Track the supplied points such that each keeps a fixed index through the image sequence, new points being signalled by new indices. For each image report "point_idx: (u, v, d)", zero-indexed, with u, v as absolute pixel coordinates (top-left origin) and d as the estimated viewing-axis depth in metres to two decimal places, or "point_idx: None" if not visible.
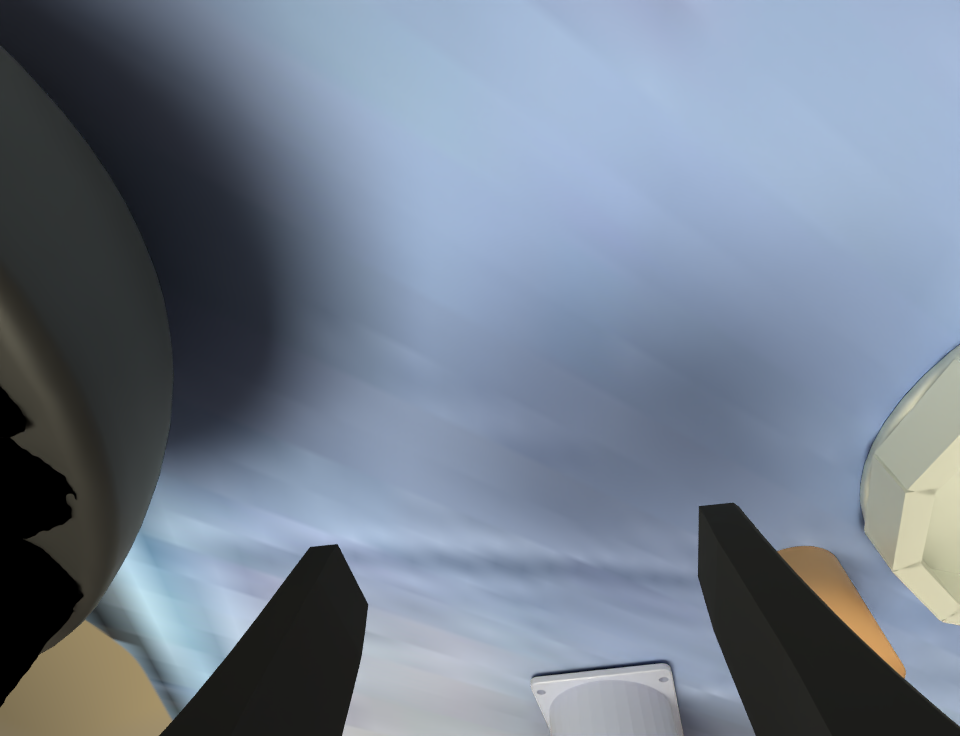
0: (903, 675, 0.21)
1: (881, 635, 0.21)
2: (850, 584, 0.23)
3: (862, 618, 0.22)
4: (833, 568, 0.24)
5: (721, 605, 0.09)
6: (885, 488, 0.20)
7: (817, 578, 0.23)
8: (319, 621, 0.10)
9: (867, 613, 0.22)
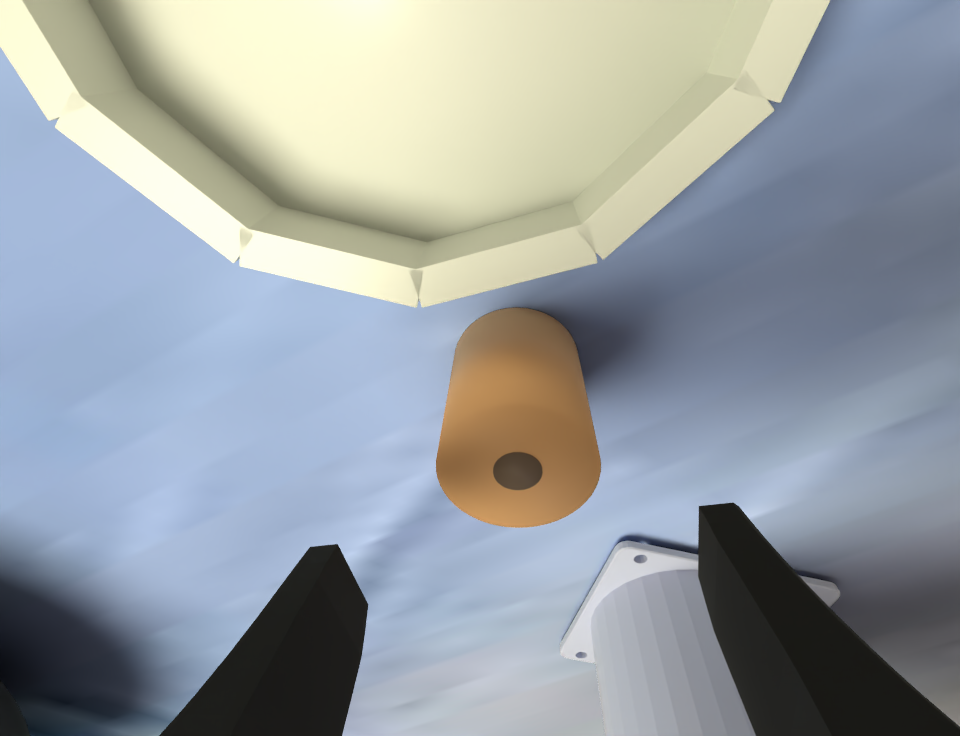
0: (539, 409, 0.12)
1: (483, 386, 0.13)
2: (488, 339, 0.15)
3: (466, 385, 0.14)
4: (472, 338, 0.16)
5: (721, 605, 0.09)
6: None
7: (452, 373, 0.16)
8: (319, 621, 0.10)
9: (484, 366, 0.14)
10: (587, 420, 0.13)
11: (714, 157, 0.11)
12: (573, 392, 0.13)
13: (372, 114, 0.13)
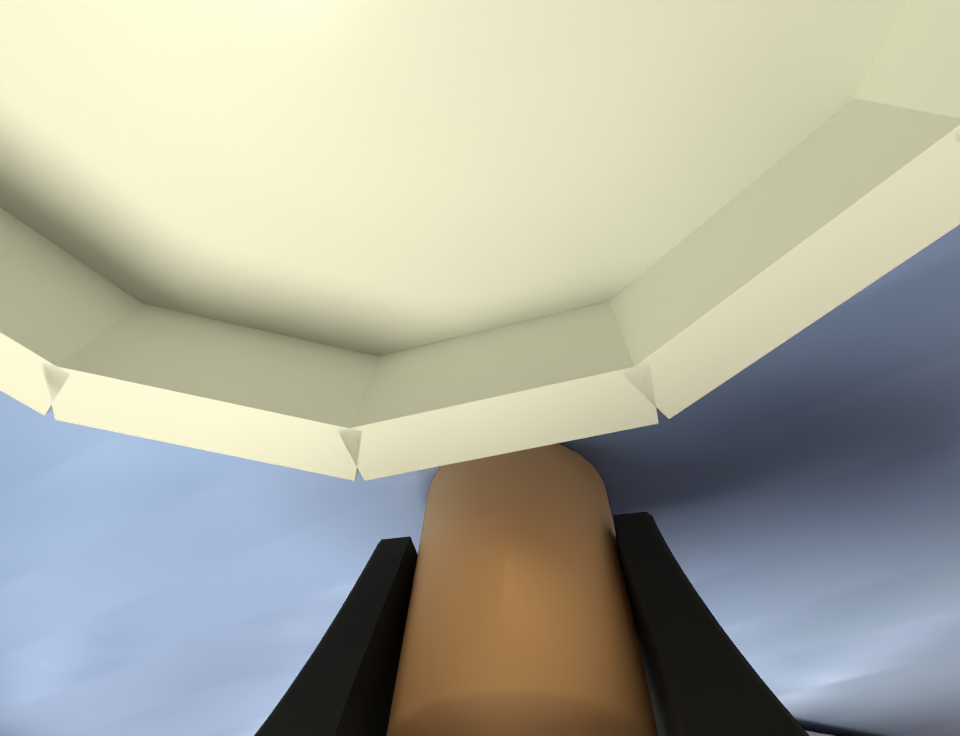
0: (560, 698, 0.07)
1: (464, 626, 0.08)
2: (475, 503, 0.10)
3: (436, 604, 0.08)
4: (452, 490, 0.10)
5: None
6: None
7: (420, 545, 0.10)
8: (399, 614, 0.09)
9: (466, 570, 0.08)
10: (639, 684, 0.08)
11: (892, 261, 0.06)
12: (614, 626, 0.08)
13: (276, 165, 0.08)
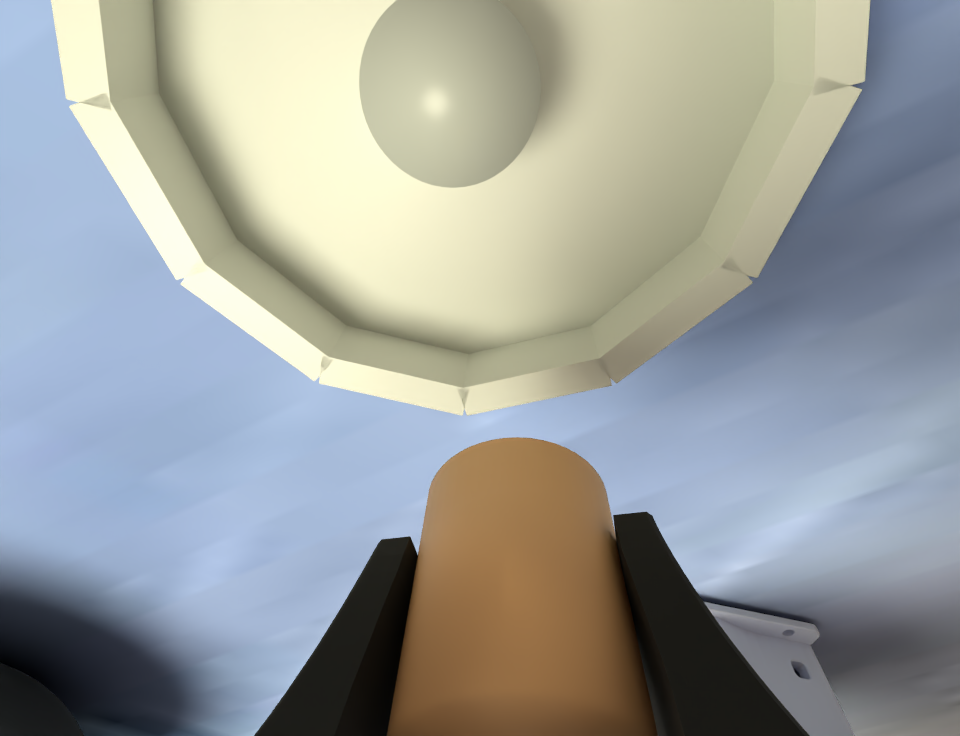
0: (560, 700, 0.07)
1: (464, 627, 0.08)
2: (475, 504, 0.10)
3: (436, 606, 0.08)
4: (452, 492, 0.10)
5: None
6: None
7: (420, 546, 0.10)
8: (399, 614, 0.09)
9: (466, 572, 0.08)
10: (639, 686, 0.08)
11: (706, 313, 0.14)
12: (613, 628, 0.08)
13: (428, 261, 0.16)
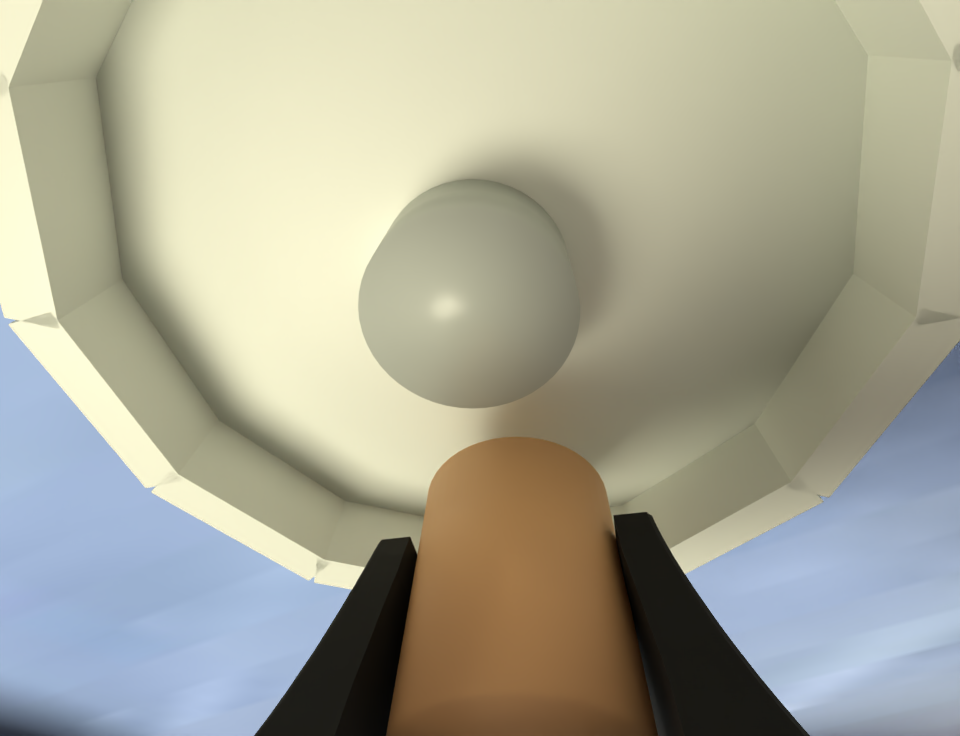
0: (560, 700, 0.07)
1: (463, 627, 0.08)
2: (475, 503, 0.10)
3: (436, 605, 0.08)
4: (452, 491, 0.10)
5: None
6: None
7: (420, 545, 0.10)
8: (399, 614, 0.09)
9: (466, 571, 0.08)
10: (639, 685, 0.08)
11: (765, 528, 0.12)
12: (613, 627, 0.08)
13: (439, 442, 0.14)
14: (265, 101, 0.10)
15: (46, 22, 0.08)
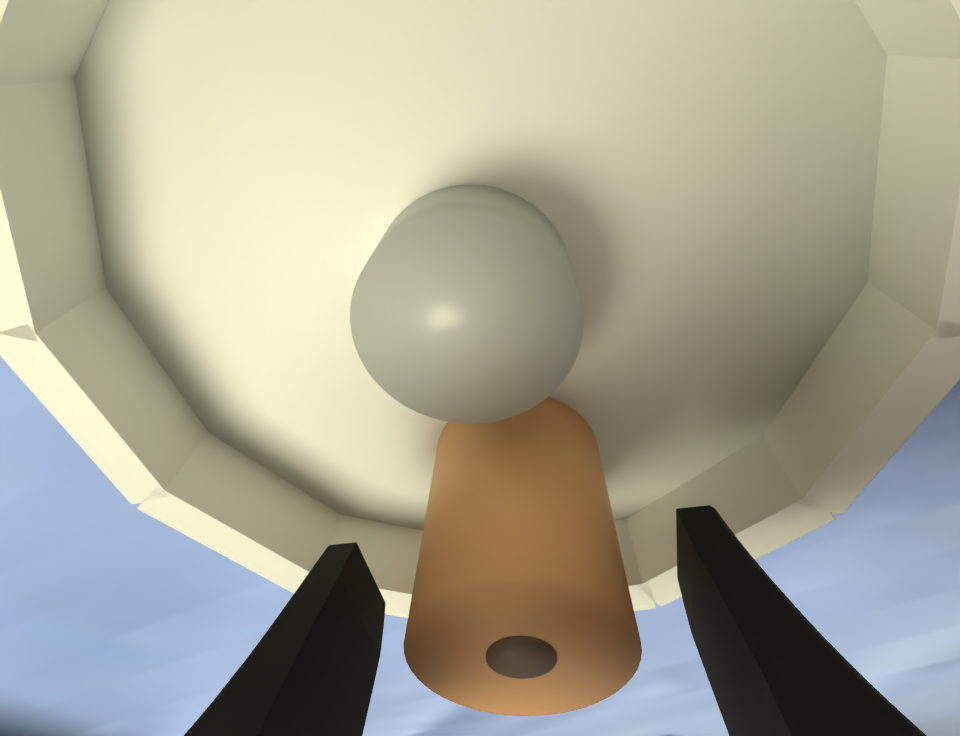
0: (553, 587, 0.08)
1: (472, 537, 0.09)
2: (480, 445, 0.11)
3: (447, 524, 0.10)
4: (459, 438, 0.12)
5: (697, 607, 0.09)
6: None
7: (431, 485, 0.12)
8: (340, 619, 0.10)
9: (473, 496, 0.10)
10: (622, 586, 0.09)
11: (775, 546, 0.12)
12: (600, 540, 0.09)
13: None
14: (252, 103, 0.09)
15: (15, 19, 0.07)
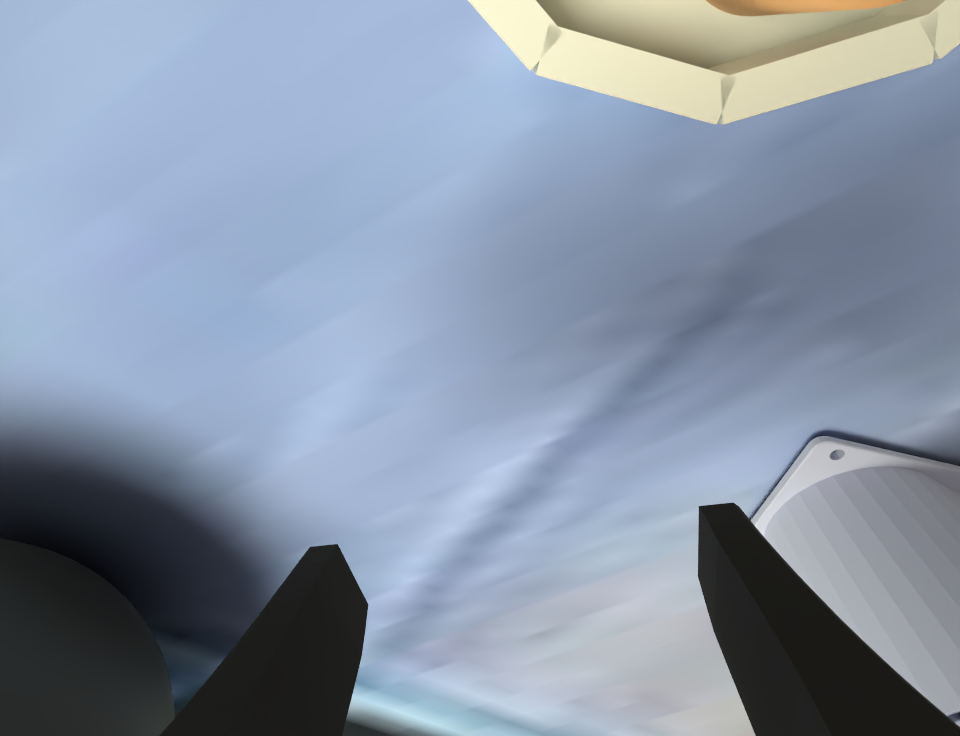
0: None
1: None
2: None
3: None
4: None
5: (721, 605, 0.09)
6: None
7: None
8: (319, 621, 0.10)
9: None
10: None
11: None
12: None
13: None
14: None
15: None
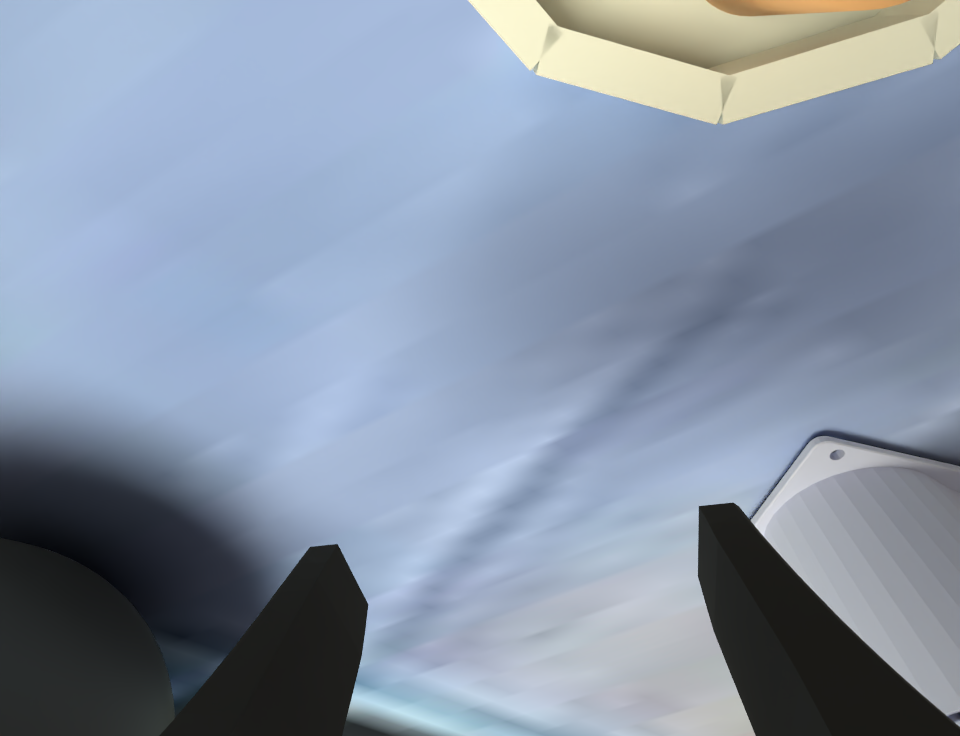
0: None
1: None
2: None
3: None
4: None
5: (721, 605, 0.09)
6: None
7: None
8: (319, 621, 0.10)
9: None
10: None
11: None
12: None
13: None
14: None
15: None
